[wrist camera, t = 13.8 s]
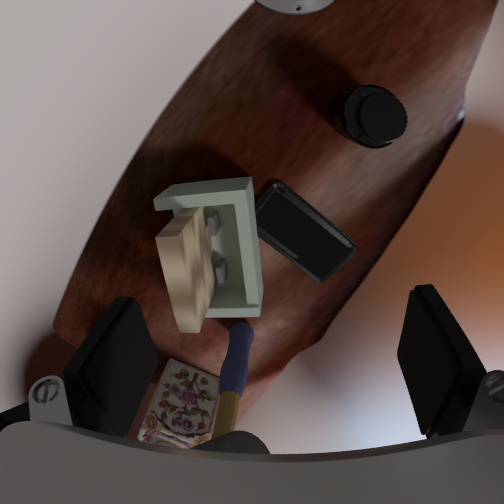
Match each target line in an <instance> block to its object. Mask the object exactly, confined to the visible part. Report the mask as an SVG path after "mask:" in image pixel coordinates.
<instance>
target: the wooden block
mask: <svg viewBox="0 0 504 504" xmlns="http://www.w3.org/2000/svg"><path fill="white" fill-rule="evenodd" d="M207 218H208V213H207V206H202V207H190V208H182V209H181V210H180V212H179V213H178V214H177V215H176V216H175V217H174V218H173V219H172V220H171V221H170V222H169V223H168V224H167V225H166V226H165V228H164V229H163V230H162V231H161V232H160V233H159V234H158V235H157V236H156V237H155V238H156V243H157V247H158V252H159V256H160V260H161V264H162V269H163V273H164V277H165V281H166V285H167V289H168V292H169V296H170V300H171V304H172V307H173V311H174V315H175V318H176V322H177V325H178V329H179V332H180V333H199V332H200V329H201V326H202V323H203V321H204V318H205V315H206V312H207V309H208V307H209V304H210V301H211V298H212V296H213V293H214V290H215V288H216V285H217V282H218V280H217V274H216V264H215V258H214V252H213V245H212V239H211V236H210V233H209V227H208V220H207Z"/></svg>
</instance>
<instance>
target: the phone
mask: <svg viewBox="0 0 504 504" xmlns="http://www.w3.org/2000/svg"><path fill="white" fill-rule="evenodd" d="M254 208H255V216H256V226H257V236H258V237H260V238H261V239H262V240H263V241H265V242H266V243H267V244H269V245H270V246H271V247H273V248H274V249H275V250H277V251H278V252H279V253H281V254H282V255H283V256H285V257H286V258H287V259H289V260H290V261H291V262H292V263H294V264H295V265H296V266H298V267H299V268H300V269H302V270H303V271H304V272H306V273H307V274H308V275H309V276H311V277H312V278H313V279H315V280H316V281H318V282H326V281H327V280H328V279H329V278H330V277H331V276H332V275H333V274H334V273H335V272H337V271H338V270H339V269H340V268H341V267H342V266H343V265H344V264H345V263H346V262H347V261H348V260H349V259H350V258H351V257H352V256H353V255H354V254H355V252H356V246H355V244H354V242H353V241H352V240H351V239H349V238H348V237H347V236H346V235H345V234H344V233H343V232H341V231H340V230H339V229H338V228H337V227H336V226H334V225H333V224H332V223H331V222H330V221H329V220H327V219H326V218H325V217H324V216H323V215H322V214H320V213H319V212H318V211H317V210H316V209H314V208H313V207H312V206H311V205H310V204H308V203H307V202H306V201H305V200H304V199H302V198H301V197H300V196H299V195H297V194H296V193H295V192H294V191H293V190H291V189H290V188H289V187H288V186H286V185H285V184H284V183H282V182H275V183H273V184H272V185H271V186H270V188H269V189H268V190H267V191H266V192H265V193H264V195H263V196H262V197H261V198H260V199H259V201H258V202H257V203H256V204H255V206H254Z"/></svg>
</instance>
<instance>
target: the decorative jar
mask: <svg viewBox="0 0 504 504" xmlns="http://www.w3.org/2000/svg"><path fill="white" fill-rule="evenodd" d="M219 380H220V378H218V377H215V376H213V375H211V374H208V373H206V372H203V371H201V370H199V369H196V368H194V367H191V366H189V365H186V364H184V363H182V362H179V361H177V360H175V359H173V358H170V359H169V360H168V362H167V364H166V367H165V369H164V371H163V373H162V375H161V378H160V380H159V383H158V385H157V388H156V390H155V393H153V394H152V396H151V398H150V403H149V405H148V409H147V411H146V413H145V416H144V418H143V420H142V422H141V425H140V430H139V431H138V433H137V437H138V439H139V440H140V441H141V442H147V443H152V444H158V445H164V446H171V447H178V448H186V449H191V448H193V447H194V446H196V445H199V444H201V443H204V442H206V441H209V439H210V437H211V436H212V432H213V427H214V423H215V419H216V414H217V409H218V404H219V399H220V395H219Z"/></svg>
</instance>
